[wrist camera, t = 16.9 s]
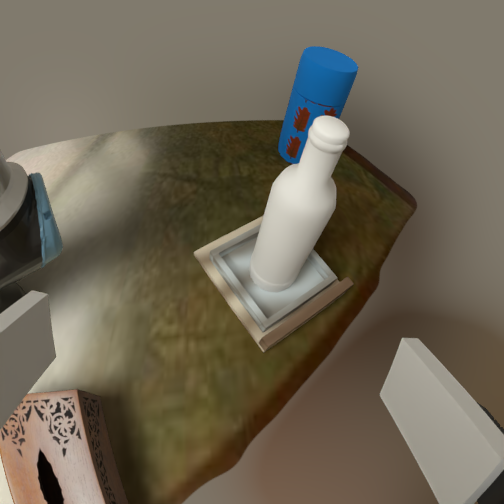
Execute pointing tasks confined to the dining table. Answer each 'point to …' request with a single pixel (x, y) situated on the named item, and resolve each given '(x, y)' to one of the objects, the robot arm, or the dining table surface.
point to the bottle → (298, 207)
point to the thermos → (315, 96)
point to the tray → (263, 302)
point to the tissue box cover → (60, 451)
